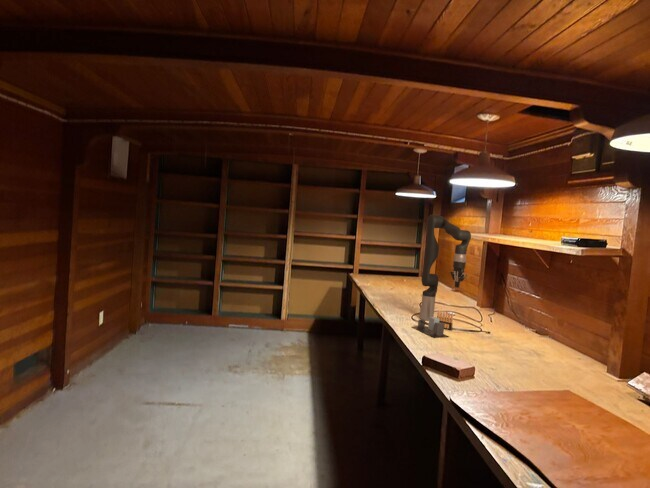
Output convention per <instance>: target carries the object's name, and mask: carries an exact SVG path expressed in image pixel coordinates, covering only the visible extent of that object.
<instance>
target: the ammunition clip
mask: <svg viewBox="0 0 650 488" xmlns="http://www.w3.org/2000/svg"><path fill="white" fill-rule="evenodd" d="M436 318H438V319H440V321H439V323H443V324H444V330H445V331H449V332H451V331H453V322H454V313H453V312H451V311H449V312H448V311H445V310H444V311H443V310H442V309H441V310H437V315H436Z"/></svg>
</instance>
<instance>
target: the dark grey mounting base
mask: <svg viewBox="0 0 650 488" xmlns="http://www.w3.org/2000/svg"><path fill="white" fill-rule="evenodd" d="M428 326H429V322H428V321H427V322H426V320H424V319H418V320H417V326H411V328H412V329H414V330H416V331H418V332H420V333H422V334H424V335H426V336H429V337H430V338H433V339H437V338H438V339H439V338H440V339H441V338H442V339H443V338H450V336H449V335H446V334H444V330H445V329H444V324H443V323H435V324H434V331H432V330H430V329H428Z"/></svg>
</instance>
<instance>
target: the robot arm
mask: <svg viewBox="0 0 650 488" xmlns="http://www.w3.org/2000/svg"><path fill="white" fill-rule="evenodd" d="M435 229H443V230H444V231H445V233H446V234H447V235H449V236H451V237H452V238H453V240H455V241H458V242H461V243H459V244H456V245H455V249H454V256H453V262H452V263H453V264H452V268H453V270H452V271H450V275H451V278H452V280H453V281H454V287H455V288H460V284H461V282H464V280H465V278H466V277H467V274H466V273H465V269H466V264H467V250H468V246H469V245H470V241H471V238H472V233H471V231H469V230H465V229H461V228H460V227H459V226H457V225H455V224H452V223H451V222H449V220H447V219H446V218H445V217H444V216H443V215H440V214H439V215H438V214H429V216H428V217H427V220H426V243H425V244H426V245H425V250H424V251H425V252H424V261H423V262H424V263H423V268H422V274H421V284H422V286H423V287H428V288H427V289H425V290H423V291H422V296H421V304H420V309H419V318H420V319H419V320H421V319H424V320H425V321H427V322H429V317H435V314H434V313H435V305H436V297H437V296H436V295H437V293H438V287H439V276H438V275H437V274H436V273H430V272H431V268H432V267H433V265H434V263H435V262H436V260H437V259H438V257H439V249H440V246H439V242H438V241H437V238H436V236H435Z"/></svg>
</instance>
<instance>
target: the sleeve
mask: <svg viewBox="0 0 650 488" xmlns="http://www.w3.org/2000/svg"><path fill="white" fill-rule="evenodd" d="M439 321H440V318H439V319H438V318H437V316H433V317H429V321H428V323H429V326H428V325H427V327H428V329H430V330H432V331H434V324H435V323H439Z"/></svg>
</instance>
